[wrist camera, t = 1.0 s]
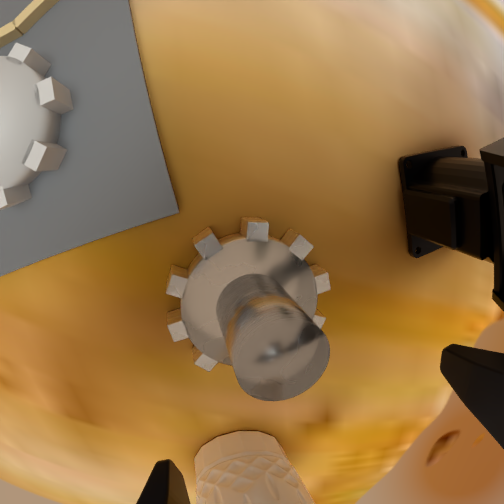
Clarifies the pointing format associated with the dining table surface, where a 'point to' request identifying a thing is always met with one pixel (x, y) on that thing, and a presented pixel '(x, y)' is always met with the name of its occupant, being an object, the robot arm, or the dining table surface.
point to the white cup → (247, 472)
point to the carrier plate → (74, 129)
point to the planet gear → (253, 309)
